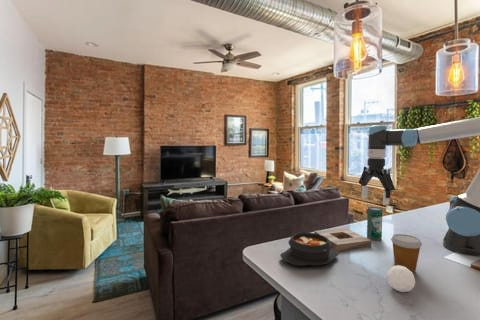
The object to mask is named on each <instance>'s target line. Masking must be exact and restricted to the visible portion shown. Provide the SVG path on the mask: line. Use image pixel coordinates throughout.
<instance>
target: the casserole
mask: <svg viewBox="0 0 480 320" xmlns="http://www.w3.org/2000/svg"><path fill="white" fill-rule="evenodd" d="M288 245H289V248H287V250H285V251H283V252H281V253H280V255H279V256H280V258H281V259H282V260H283V261H285V262H287V263H288V264H291V265H293V266H297V267H298V266H299V267H300V266H321V265H327V264H329V263H331V262H333V261H334V259H335V258H336V257H337V256H339V251H336V250H334V249H332V245H331V244H330V242H329V239H328V238H326V237H325V236H322V235H319V234H315V233H314V232H298V233H294V234H293V235H291V236H290V239H289V240H288Z"/></svg>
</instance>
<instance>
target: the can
mask: <svg viewBox="0 0 480 320" xmlns="http://www.w3.org/2000/svg"><path fill="white" fill-rule="evenodd" d="M366 216H367V219H366V220H367V221H366V222H367V223H366V224H367V225H366V227H367V228H366V238H368V239H370V240H371V241H374V242H380V241H382V236H383V235H382V234H383V208H381V207H378V206H368V207H367V215H366Z"/></svg>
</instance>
